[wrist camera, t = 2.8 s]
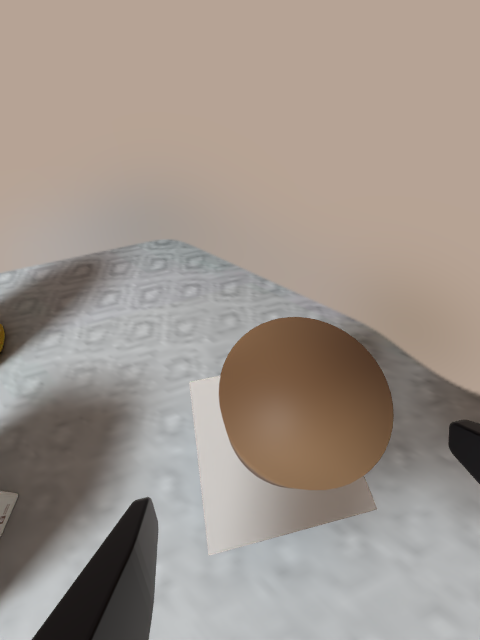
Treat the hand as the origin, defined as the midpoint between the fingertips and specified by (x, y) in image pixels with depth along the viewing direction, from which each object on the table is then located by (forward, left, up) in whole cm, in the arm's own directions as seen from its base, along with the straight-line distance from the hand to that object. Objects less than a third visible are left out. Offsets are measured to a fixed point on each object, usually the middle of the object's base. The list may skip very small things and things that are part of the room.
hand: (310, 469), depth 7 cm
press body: (+1, +1, -12) cm, 13 cm away
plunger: (+1, +1, -7) cm, 7 cm away
